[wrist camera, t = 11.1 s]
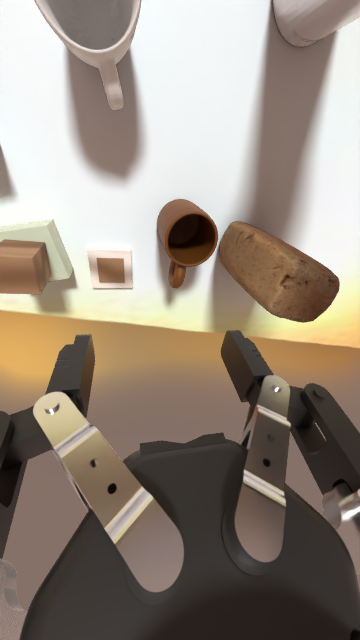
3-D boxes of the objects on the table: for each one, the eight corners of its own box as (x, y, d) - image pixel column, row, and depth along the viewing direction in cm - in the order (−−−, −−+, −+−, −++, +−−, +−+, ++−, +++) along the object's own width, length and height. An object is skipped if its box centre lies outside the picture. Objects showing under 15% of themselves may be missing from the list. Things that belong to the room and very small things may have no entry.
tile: (87, 248, 37) (86, 250, 36) (131, 249, 38) (131, 251, 38) (93, 286, 41) (92, 288, 40) (132, 286, 43) (132, 288, 42)
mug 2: (186, 272, 43) (198, 297, 36) (146, 264, 41) (151, 290, 33) (207, 205, 37) (228, 219, 29) (162, 191, 34) (172, 202, 27)
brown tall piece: (209, 254, 42) (260, 317, 26) (229, 213, 38) (302, 257, 22) (255, 271, 46) (322, 333, 30) (276, 235, 42) (367, 285, 26)
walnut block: (4, 239, 31) (-18, 255, 26) (45, 242, 32) (31, 258, 27) (14, 273, 34) (-4, 293, 29) (51, 274, 35) (40, 294, 30)
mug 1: (151, 109, 29) (161, 93, 21) (86, 123, 28) (71, 112, 20) (122, -52, 22) (120, -168, 14) (34, -36, 21) (-19, -147, 13)
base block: (-3, 226, 33) (-16, 234, 30) (53, 218, 34) (46, 225, 31) (25, 275, 38) (16, 287, 35) (73, 267, 39) (69, 278, 36)
